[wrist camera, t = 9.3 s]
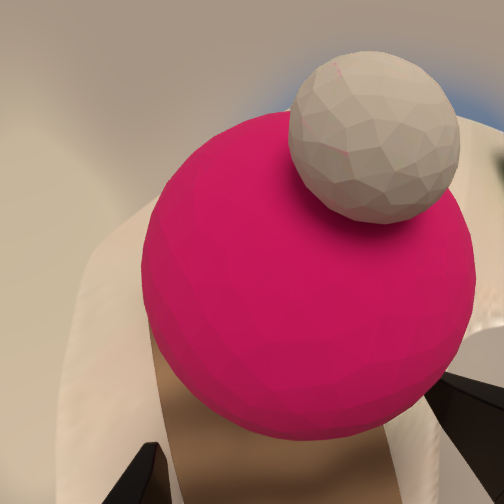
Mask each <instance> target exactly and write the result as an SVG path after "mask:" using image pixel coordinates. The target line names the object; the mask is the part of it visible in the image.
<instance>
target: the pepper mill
mask: <svg viewBox="0 0 504 504" xmlns="http://www.w3.org/2000/svg"><path fill="white" fill-rule="evenodd" d="M459 153H460V133H459V126H458V122H457V118H456V115H455V111H454V110H453V108H452V106H451V104H450V102H449V100H448V99H447V97H446V95H445V94H444V92H443V90H442V89H441V87H440V85H439V84H438V83H437V82H436V81H434V80H433V79H432V78H431V77H430V76H429V75H428V74H427V73H425V72H424V71H423V70H422V69H421V68H420V67H418V66H416V65H414V64H412V63H410V62H408V61H406V60H404V59H402V58H400V57H397V56H393V55H390V54H387V53H383V52H374V51H362V52H357V53H352V54H347V55H342V56H338V57H336V58H334V59H332V60H331V61H329V62H327V63H325V64H324V65H322V66H320V67H318V68H317V69H316V70H315V71H314V72H313V73H312V74H311V75H310V76H309V78H308V79H307V80H306V81H305V82H304V83H303V84H302V86H300V89H299V91H298V93H297V95H296V97H295V99H294V101H293V104H292V106H291V110H290V111H286V112H278V113H271V114H266V115H263V116H260V117H257V118H254V119H250V120H247V121H244V122H242V123H240V124H238V125H236V126H234V127H232V128H230V129H228V130H226V131H224V132H222V133H220V134H218V135H216V136H214V137H213V138H211V139H210V140H209V141H207V142H206V143H205V144H204V145H202V146H201V147H200V148H198V149H197V150H196V151H195V152H194V153H193V154H192V155H191V156H190V157H189V158H188V159H187V160H186V161H185V162H184V163H183V164H182V166H181V167H180V168H179V169H178V170H177V172H176V173H175V174H174V175H173V176H172V177H171V179H170V180H169V181H168V182H167V184H166V186H165V187H164V190H163V191H162V193H161V195H160V197H159V199H158V201H157V203H156V205H155V207H154V210H153V212H152V214H151V218H150V222H149V225H148V229H147V233H146V237H145V242H144V246H143V254H142V262H141V276H142V290H143V299H144V305H145V309H146V312H147V316H148V319H149V323H150V326H151V329H152V333H153V335H154V338H155V340H156V343H157V345H158V348H159V350H160V352H161V353H162V355H163V357H164V358H165V360H166V361H167V363H168V364H169V366H170V367H171V369H172V371H173V372H174V374H175V375H176V376H177V377H178V379H179V380H180V381H181V382H182V383H183V384H184V385H185V386H186V388H187V389H188V390H189V391H190V392H191V393H192V394H193V395H194V396H195V397H196V398H197V399H199V400H200V401H201V402H202V403H203V404H205V405H206V406H207V407H208V408H209V409H211V410H212V411H214V412H215V413H217V414H219V415H220V416H222V417H224V418H226V419H227V420H229V421H231V422H233V423H235V424H236V425H238V426H240V427H242V428H244V429H246V430H248V431H251V432H254V433H258V434H261V435H265V436H268V437H272V438H276V439H284V440H291V441H316V440H330V439H337V438H344V437H350V436H353V435H356V434H359V433H362V432H365V431H368V430H371V429H373V428H376V427H379V426H382V425H383V424H385V423H387V422H388V421H390V420H392V419H393V418H395V417H396V416H398V415H399V414H401V413H403V412H404V411H406V410H407V409H409V408H410V407H412V406H413V405H414V404H415V403H416V402H417V401H418V400H419V399H420V398H421V397H422V396H423V395H424V394H425V393H426V392H427V391H428V390H429V389H430V388H431V387H432V386H433V385H434V384H435V383H436V382H437V381H438V380H439V379H440V378H441V376H442V375H443V373H444V372H445V370H446V369H447V367H448V366H449V364H450V363H451V361H452V360H453V358H454V357H455V355H456V354H457V351H458V349H459V347H460V344H461V342H462V339H463V336H464V334H465V331H466V328H467V326H468V323H469V320H470V317H471V315H472V310H473V303H474V294H475V285H476V272H475V263H474V254H473V247H472V241H471V236H470V233H469V230H468V227H467V225H466V222H465V220H464V217H463V215H462V212H461V210H460V208H459V205H458V203H457V201H456V199H455V198H454V196H453V195H452V193H451V192H450V190H449V189H448V187H449V185H450V184H451V182H452V179H453V177H454V174H455V172H456V169H457V167H458V161H459Z"/></svg>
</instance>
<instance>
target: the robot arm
mask: <svg viewBox="0 0 504 504" xmlns="http://www.w3.org/2000/svg"><path fill="white" fill-rule="evenodd" d="M424 396H425V398H426V400H427V402H428V404H429V405H430V407H431V409H432V411H433V412H434V414H435V416H436V418H437V420H438V421H439V423H440V425H441V426H442V428H443V429H444V431H445V432H446V434H447V435H448V436H449V438H450V439H451V441H452V442H453V443H454V445H455V446H456V448H457V449H458V450H459V452H460V453H461V455H462V456H463V458H464V459H465V461H466V462H467V464H468V465H469V466H470V468H471V469H472V471H473V472H474V474H475V475H476V477H477V478H478V480H479V481H480V483H481V484H482V486H483V487H484V489H485V490H486V491H487V493H488V495H489V496H490V498H491V499H492V501H493V502H494V504H504V388H502V387H498V386H494V385H491V384H487V383H483V382H480V381H476V380H472V379H469V378H465V377H462V376H458V375H455V374H452V373H448V372H444V373H443V375H442V376H441V378H440V379H439V380H438V381H437V382H436V383H435V384H434V385H433V386H432V387H431V388H430V389H429V390H428V391H427V392H426V393H425V394H424ZM102 504H172V499H171V491H170V482H169V473H168V464H167V459H166V457H165V455H164V453H163V451H162V449H161V447H160V445H159V443H158V442H146V443H144V444H143V446H142V447H141V449H140V450H139V452H138V453H137V454H136V456H135V457H134V459H133V460H132V462H131V463H130V464H129V466H128V467H127V469H126V470H125V472H124V473H123V474H122V476H121V477H120V479H119V480H118V481H117V483H116V484H115V486H114V487H113V489H112V490H111V491H110V493H109V494H108V496H107V497H106V498H105V500H104V501H103V503H102Z"/></svg>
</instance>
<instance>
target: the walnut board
mask: <svg viewBox="0 0 504 504" xmlns="http://www.w3.org/2000/svg"><path fill="white" fill-rule="evenodd" d="M148 322H149V319H148ZM149 331H150V339H151V346H152V353H153V360H154V367H155V373H156V379H157V385H158V391H159V397H160V402H161V408H162V413H163V418H164V423H165V428H166V432H167V437H168V442H169V446H170V450H171V455H172V459H173V463H174V467H175V471H176V475H177V479H178V483H179V486H180V490H181V494H182V497H183V501H184V504H402V500H401V496H400V491H399V487H398V482H397V478H396V474H395V470H394V466H393V462H392V458H391V454H390V450H389V446H388V442H387V438H386V434H385V431H384V427H383V425H382V426H379V427H376V428H373V429H371V430H368V431H365V432H362V433H359V434H356V435H353V436H350V437H344V438H337V439H330V440H316V441H291V440H284V439H276V438H272V437H268V436H265V435H261V434H258V433H254V432H251V431H248V430H246V429H244V428H242V427H240V426H238V425H236V424H235V423H233V422H231V421H229V420H227V419H226V418H224V417H222V416H220V415H219V414H217V413H215V412H214V411H212V410H211V409H209V408H208V407H207V406H206V405H205V404H203V403H202V402H201V401H200V400H199V399H197V398H196V397H195V396H194V395H193V394H192V393H191V392H190V391H189V390H188V389H187V388H186V386H185V385H184V384H183V383H182V382H181V381H180V380H179V379H178V377H177V376H176V375H175V374H174V372H173V371H172V369H171V367H170V366H169V364H168V363H167V361H166V360H165V358H164V357H163V355H162V353H161V352H160V350H159V348H158V345H157V343H156V340H155V338H154V335H153V333H152V329H151V326H150V323H149Z"/></svg>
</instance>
